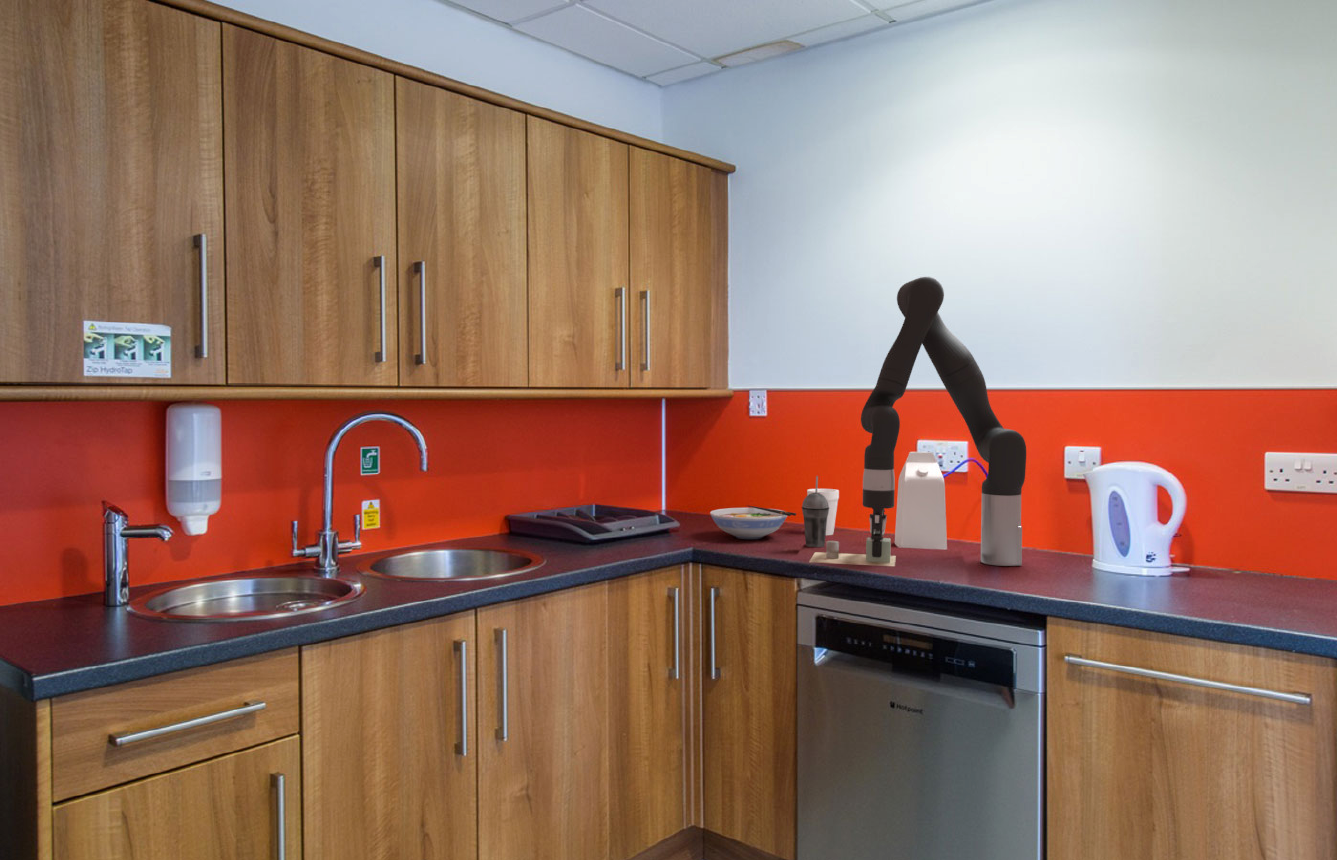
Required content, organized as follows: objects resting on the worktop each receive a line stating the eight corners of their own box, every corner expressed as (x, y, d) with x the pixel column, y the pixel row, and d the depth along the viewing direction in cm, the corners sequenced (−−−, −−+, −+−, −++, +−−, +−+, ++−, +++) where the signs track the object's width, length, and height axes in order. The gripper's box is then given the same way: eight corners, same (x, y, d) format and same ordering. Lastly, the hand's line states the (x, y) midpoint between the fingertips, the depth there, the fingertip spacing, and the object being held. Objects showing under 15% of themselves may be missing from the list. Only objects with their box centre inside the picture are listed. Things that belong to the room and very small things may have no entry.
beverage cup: (797, 552, 240) (797, 476, 239) (806, 548, 246) (807, 474, 245) (824, 554, 236) (824, 478, 236) (832, 550, 243) (833, 475, 242)
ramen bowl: (694, 534, 271) (694, 506, 270) (760, 529, 280) (760, 502, 280) (735, 547, 248) (735, 517, 248) (806, 541, 258) (806, 512, 257)
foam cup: (801, 532, 275) (801, 489, 274) (829, 530, 277) (829, 488, 277) (815, 536, 266) (816, 492, 265) (844, 535, 268) (844, 491, 268)
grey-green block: (890, 558, 222) (890, 538, 222) (889, 562, 217) (890, 542, 217) (867, 557, 224) (867, 537, 224) (866, 561, 218) (866, 541, 218)
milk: (938, 544, 253) (939, 450, 252) (947, 551, 241) (948, 453, 240) (894, 543, 254) (895, 450, 253) (901, 550, 243) (902, 453, 242)
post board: (895, 561, 226) (896, 539, 226) (894, 572, 213) (894, 549, 212) (814, 558, 231) (815, 536, 231) (808, 568, 218) (809, 545, 218)
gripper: (893, 491, 212) (892, 560, 213) (895, 485, 226) (894, 550, 226) (861, 490, 214) (859, 558, 214) (864, 484, 228) (863, 548, 228)
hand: (877, 554), depth 220 cm, fingers open, 8 cm apart
